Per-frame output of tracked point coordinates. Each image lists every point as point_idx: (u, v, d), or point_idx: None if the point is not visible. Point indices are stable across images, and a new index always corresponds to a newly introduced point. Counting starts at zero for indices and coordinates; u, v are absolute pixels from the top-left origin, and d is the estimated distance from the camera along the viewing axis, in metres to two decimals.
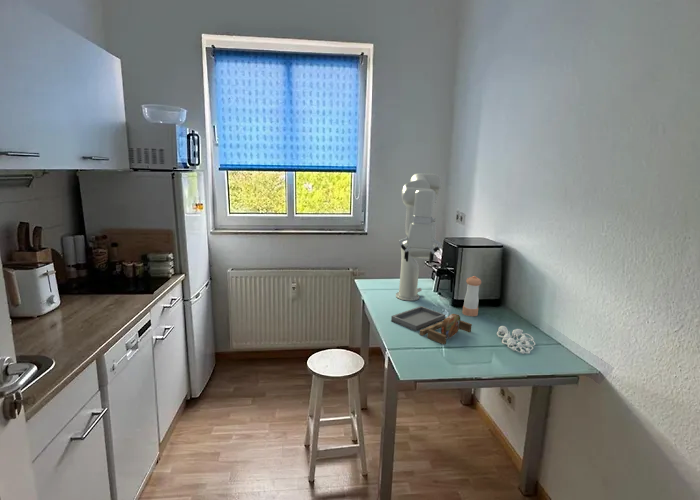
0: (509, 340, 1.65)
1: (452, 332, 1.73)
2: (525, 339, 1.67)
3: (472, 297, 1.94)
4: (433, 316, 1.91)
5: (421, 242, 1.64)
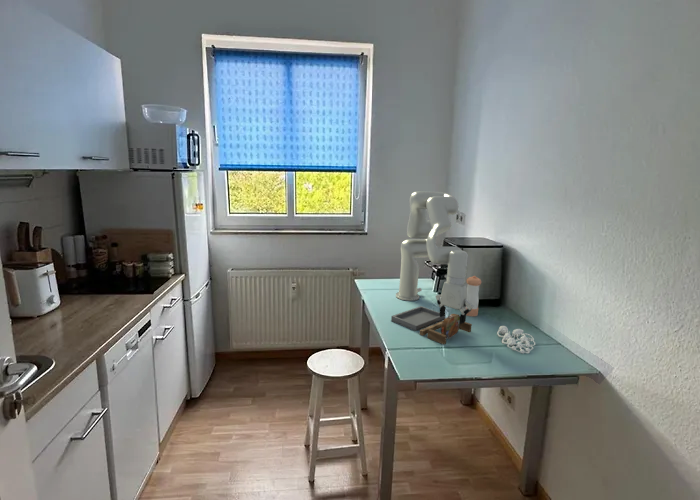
0: (509, 340, 1.65)
1: (452, 332, 1.73)
2: (525, 339, 1.67)
3: (472, 297, 1.94)
4: (433, 316, 1.91)
5: None
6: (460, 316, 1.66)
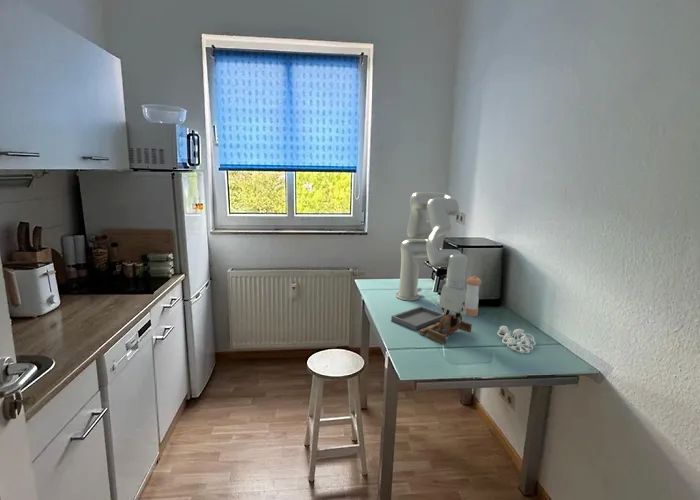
0: (509, 339, 1.65)
1: (451, 330, 1.73)
2: (525, 339, 1.67)
3: (472, 297, 1.94)
4: (433, 316, 1.91)
5: None
6: None
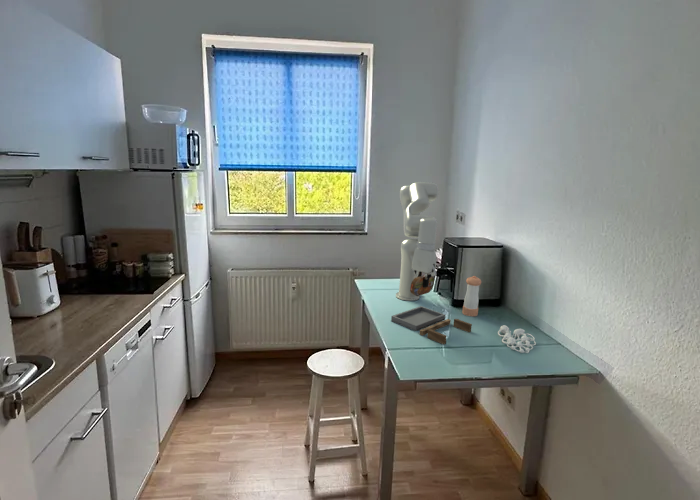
0: (509, 339, 1.66)
1: (423, 291, 1.84)
2: (526, 339, 1.68)
3: (472, 297, 1.94)
4: (433, 316, 1.91)
5: None
6: (423, 280, 1.81)
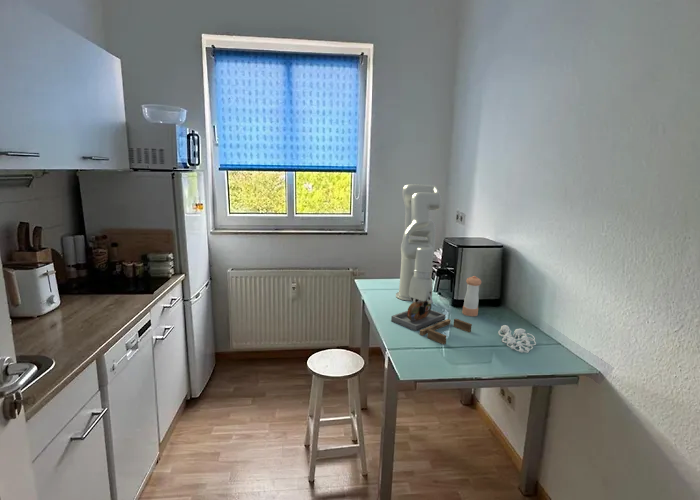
0: (509, 339, 1.66)
1: (420, 316, 1.86)
2: (526, 338, 1.68)
3: (472, 297, 1.94)
4: (433, 316, 1.91)
5: None
6: (420, 308, 1.83)
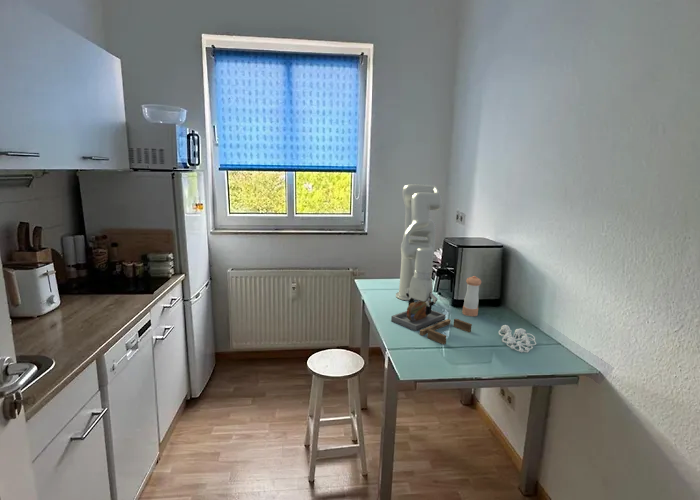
0: (509, 339, 1.66)
1: (420, 316, 1.86)
2: (526, 338, 1.68)
3: (472, 297, 1.94)
4: (433, 316, 1.91)
5: None
6: (426, 308, 1.81)
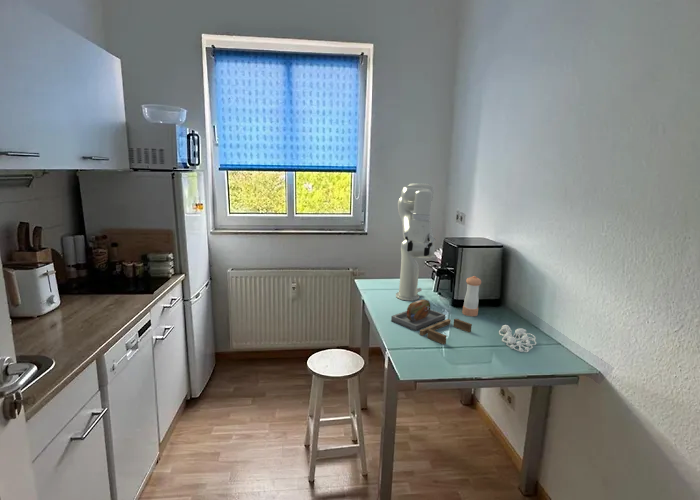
0: (509, 338, 1.66)
1: (420, 316, 1.86)
2: (526, 338, 1.68)
3: (472, 297, 1.94)
4: (433, 316, 1.91)
5: None
6: (424, 249, 1.86)
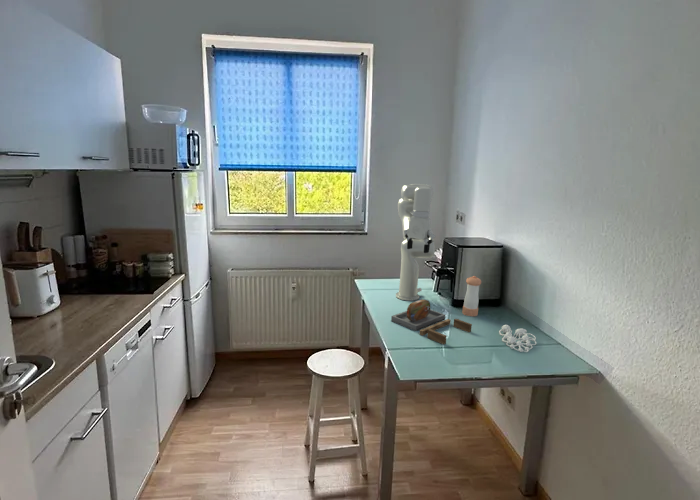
0: (509, 338, 1.67)
1: (420, 316, 1.86)
2: (526, 338, 1.68)
3: (472, 297, 1.94)
4: (433, 316, 1.91)
5: None
6: (424, 246, 1.87)
